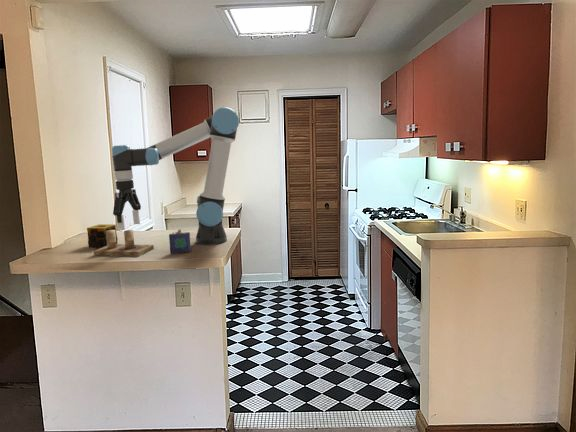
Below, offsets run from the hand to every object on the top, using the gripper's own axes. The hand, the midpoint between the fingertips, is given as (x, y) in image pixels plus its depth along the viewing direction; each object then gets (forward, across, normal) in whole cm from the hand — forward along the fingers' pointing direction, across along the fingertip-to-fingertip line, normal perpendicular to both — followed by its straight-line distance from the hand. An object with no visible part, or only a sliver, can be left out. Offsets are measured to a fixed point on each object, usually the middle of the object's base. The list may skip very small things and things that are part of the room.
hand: (129, 226), depth 212 cm
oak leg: (+12, 0, -1) cm, 12 cm away
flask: (+13, -1, +23) cm, 26 cm away
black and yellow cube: (+12, -12, -22) cm, 27 cm away
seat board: (+12, 0, -4) cm, 12 cm away
